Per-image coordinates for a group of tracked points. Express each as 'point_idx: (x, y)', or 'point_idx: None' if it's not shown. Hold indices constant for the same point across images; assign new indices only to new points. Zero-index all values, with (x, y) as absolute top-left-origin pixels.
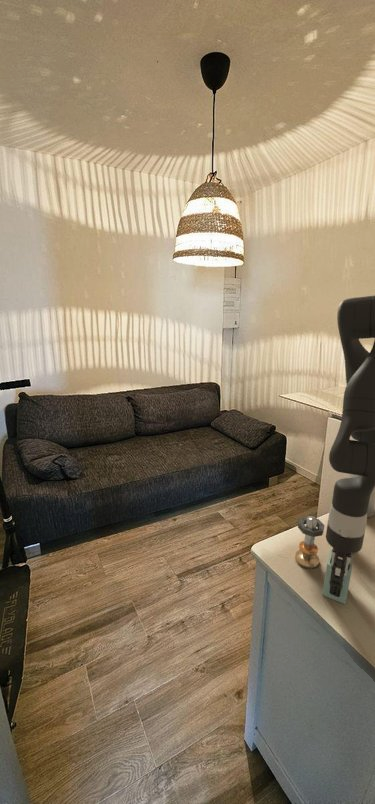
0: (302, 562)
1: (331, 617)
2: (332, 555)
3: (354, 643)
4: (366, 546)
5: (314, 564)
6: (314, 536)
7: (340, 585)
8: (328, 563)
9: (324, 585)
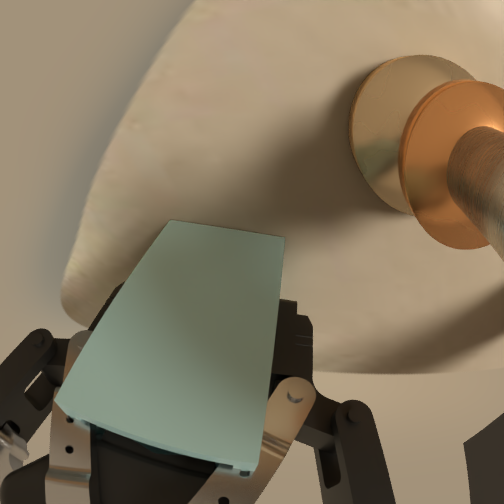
0: (371, 100)
1: (89, 251)
2: (49, 492)
3: (63, 300)
4: (493, 365)
5: (376, 184)
6: (469, 456)
7: (38, 381)
8: (69, 409)
9: (141, 261)
